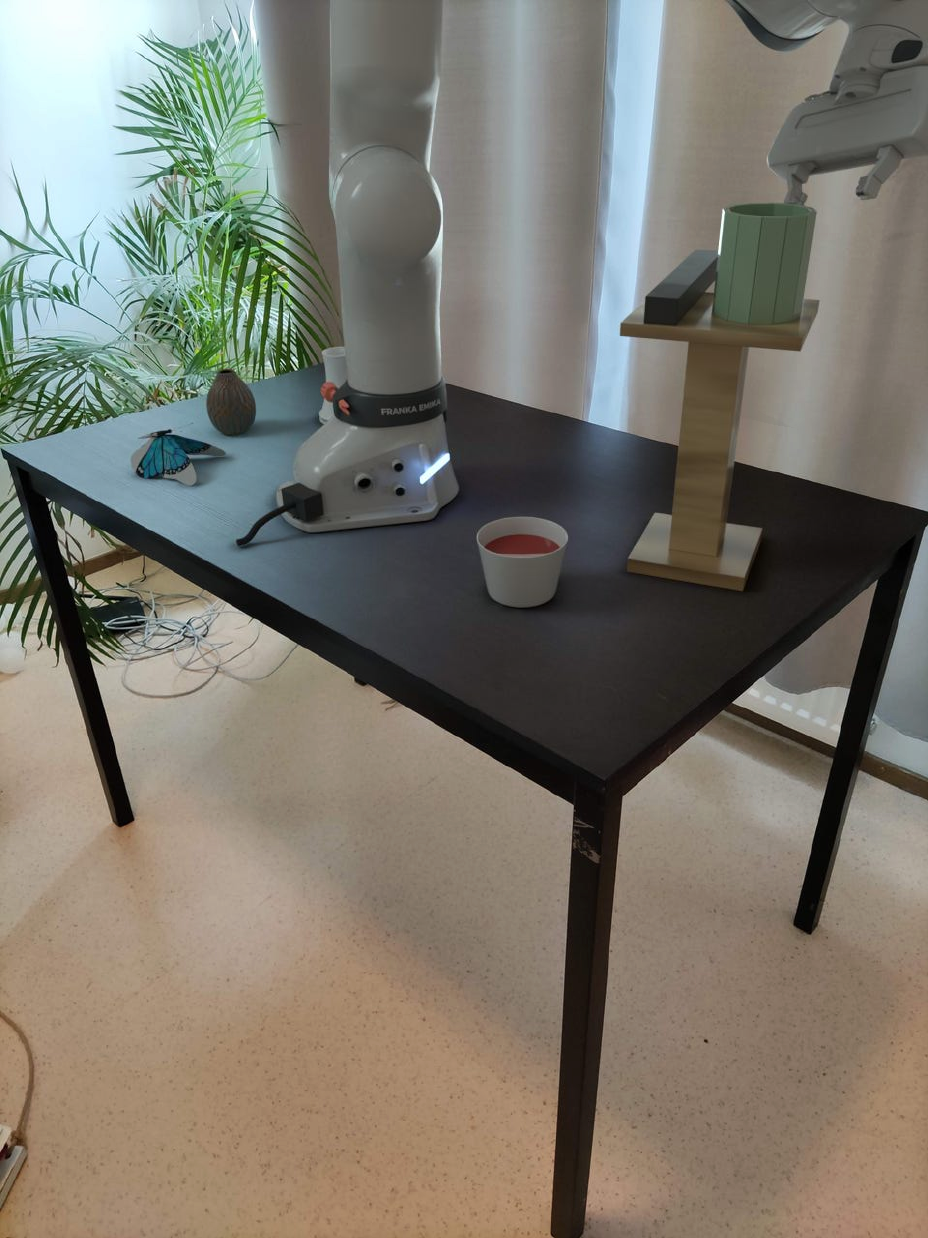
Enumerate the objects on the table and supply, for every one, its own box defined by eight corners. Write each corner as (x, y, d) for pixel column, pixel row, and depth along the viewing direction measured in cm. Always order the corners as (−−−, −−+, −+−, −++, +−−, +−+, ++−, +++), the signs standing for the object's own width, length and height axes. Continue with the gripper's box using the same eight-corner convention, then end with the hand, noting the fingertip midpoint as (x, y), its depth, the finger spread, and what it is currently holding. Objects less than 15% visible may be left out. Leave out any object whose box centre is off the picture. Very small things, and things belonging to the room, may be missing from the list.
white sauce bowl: (500, 622, 94) (500, 565, 91) (463, 582, 101) (462, 527, 98) (582, 602, 97) (584, 545, 94) (540, 564, 104) (541, 510, 101)
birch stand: (761, 599, 97) (802, 337, 83) (605, 572, 102) (620, 322, 89) (780, 540, 108) (819, 299, 94) (638, 518, 113) (656, 288, 100)
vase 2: (309, 418, 145) (301, 351, 140) (349, 406, 149) (344, 340, 144) (339, 430, 140) (333, 362, 135) (380, 417, 145) (375, 350, 139)
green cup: (746, 328, 86) (759, 219, 81) (696, 308, 92) (706, 207, 88) (817, 317, 89) (835, 211, 84) (764, 299, 95) (777, 199, 90)
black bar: (676, 325, 87) (678, 298, 86) (643, 323, 88) (645, 296, 87) (720, 274, 105) (723, 250, 103) (692, 272, 106) (695, 249, 104)
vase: (253, 438, 138) (245, 378, 134) (205, 439, 139) (195, 379, 134) (263, 421, 144) (255, 363, 140) (216, 422, 145) (207, 364, 140)
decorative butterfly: (147, 424, 133) (210, 409, 130) (166, 468, 136) (228, 454, 133) (109, 452, 124) (176, 437, 121) (131, 497, 127) (196, 484, 124)
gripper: (781, 83, 110) (736, 199, 111) (948, 35, 93) (893, 172, 94) (813, 115, 114) (770, 227, 114) (980, 74, 97) (927, 206, 97)
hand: (827, 202), depth 104 cm, fingers open, 8 cm apart
